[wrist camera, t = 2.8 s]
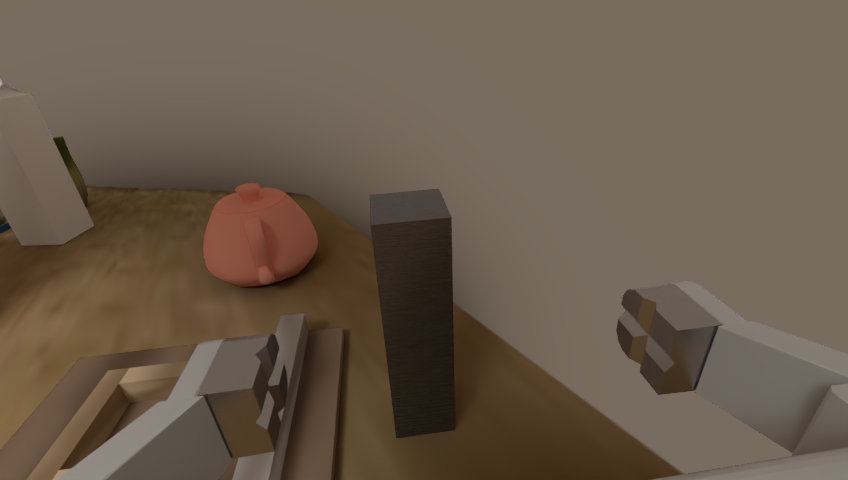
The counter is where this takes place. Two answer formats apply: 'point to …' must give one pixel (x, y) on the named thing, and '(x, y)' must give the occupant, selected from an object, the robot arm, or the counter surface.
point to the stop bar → (416, 306)
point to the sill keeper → (153, 382)
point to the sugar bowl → (258, 237)
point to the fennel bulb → (71, 168)
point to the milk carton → (3, 223)
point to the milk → (35, 176)
